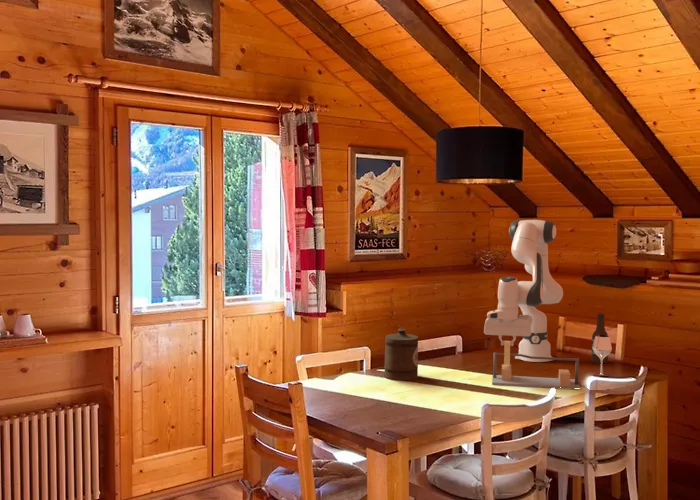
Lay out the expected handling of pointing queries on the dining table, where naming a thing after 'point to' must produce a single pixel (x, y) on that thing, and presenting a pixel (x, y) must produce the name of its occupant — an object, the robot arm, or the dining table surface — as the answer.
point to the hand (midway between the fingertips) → (507, 345)
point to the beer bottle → (599, 331)
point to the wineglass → (602, 348)
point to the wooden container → (401, 356)
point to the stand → (535, 378)
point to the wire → (540, 357)
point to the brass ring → (507, 353)
